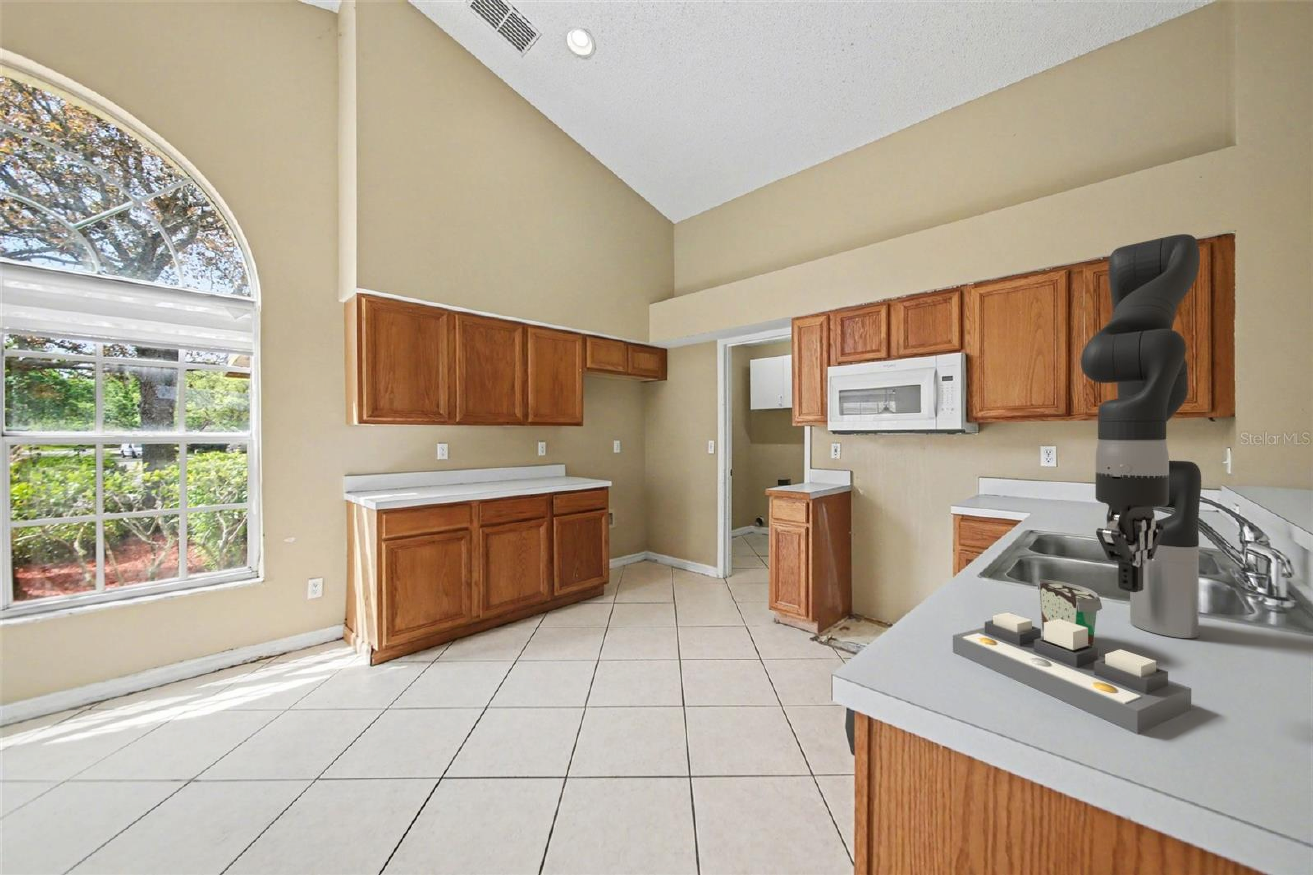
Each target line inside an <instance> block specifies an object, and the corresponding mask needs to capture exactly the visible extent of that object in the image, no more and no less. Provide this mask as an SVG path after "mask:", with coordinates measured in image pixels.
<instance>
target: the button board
mask: <svg viewBox="0 0 1313 875" xmlns="http://www.w3.org/2000/svg"><path fill="white" fill-rule="evenodd" d="M952 652H953V653H954V654H956V655H959V656H961V657H963V658H966V659H967V660H970V661H972V662H974V663H976V664H979V665H981V666H983V667H986V668H988V669H990V670H993V671H994V672H997V673H999V674H1001V675H1004V676H1006V677H1008V678H1011V679H1013V680H1015V681H1016V682H1019V683H1021V684H1024V685H1026V686H1028V687H1031V688H1032V689H1035V690H1037V691H1040V692H1042V693H1043V694H1044V693H1045V694H1047V695H1049V696H1051V697H1053V698H1056V699H1058V700H1061V701H1062V702H1065V703H1067V704H1070V705H1071V706H1074V707H1075V708H1078V709H1080V710H1082V711H1085V712H1087V713H1089V714H1091V715H1094V716H1096V717H1097V718H1100V719H1102V720H1105V721H1107V722H1110V723H1112V724H1114V725H1117V726H1118V727H1121V728H1123V729H1125V730H1128V731H1129V732H1132V733H1134V734H1136V735H1138V734H1141V733H1143V732H1145V731H1147V730H1150V729H1151V728H1154V727H1156V726H1158V725H1160V724H1162V723H1164V722H1167V721H1169V720H1171V719H1173V718H1176V717H1178V716H1180V715H1183V714H1184V713H1186V712H1189V711H1191V710H1192V688H1191V687H1189V686H1187V685H1184V684H1181V683H1177V682H1174V681H1173V680H1169V671H1167V670H1164V669H1162V668H1159V667H1156V673H1154V674H1152V675H1149V676H1146V677H1144V678H1143V677H1140V676H1138V675H1135V674H1132V673H1129V672H1126V671H1124V670H1121V669H1118V668H1115V667H1112V666H1110V665H1107V664H1105V657H1102V656H1099V648H1098V647H1095V646H1090V645H1088V646H1085V647H1082V648H1078V649H1075V650H1071V649H1068V648H1066V647H1063V646H1060V645H1057V644H1054V643H1052V642H1049V641H1046V640H1044V635H1042V628H1040V627H1036V626H1034V625H1032V629H1031V630H1027V631H1024V632H1020V633H1017V632H1015V631H1012V630H1009V629H1006V628H1003V627H1001V626H998V625H995V624H993V619H992V620H987V621H985V622H984V627H981V628H977V629H973V630H969V631H965V632H961V633H956V634H953V635H952Z"/></svg>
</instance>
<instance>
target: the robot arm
mask: <svg viewBox="0 0 1313 875" xmlns="http://www.w3.org/2000/svg"><path fill="white" fill-rule="evenodd" d="M1199 246H1200V245H1199V243H1198V240H1197V239H1196V237H1195V236H1193V235H1192V234H1188V233H1185V234H1184V233H1182V234H1181V233H1180V234H1174V235H1168V236H1166V237H1165V236H1164V237H1160V238H1155V239H1151V240H1147V241H1141V242H1136V243H1133V244H1128V245H1123V246H1120V247H1117V248H1115V249H1114V250H1113V251H1112V253H1111V254H1110V256H1109V260H1108V269H1107V270H1108V271H1107V272H1108V282H1109V283H1108V284H1109V290H1110V291H1109V292H1110V299H1111V306H1112V315H1111V318H1110V321H1109V322H1108V323H1107V324H1106V325H1105V326H1104V327H1102V328H1101V329H1100V330H1099V331H1098V332H1096V333H1095V334H1094V335H1093V336H1092V337H1091V338H1090V339H1089V341H1087V343H1086V344H1085V346H1084V349H1083V351H1082V354H1081V356H1080V367H1081V370H1082V373H1083V374H1084V375H1085V376H1086V378H1087V379H1089V380H1091V381H1092V382H1095V383H1101V384H1112V383H1113V384H1114V383H1115V384H1116V388H1117V398H1114V399H1110V400H1106V401H1104V402H1102V403H1101V404H1099V406H1098V409H1097V446H1096V450H1095V500H1096V501H1097V502H1099V503H1101V504H1106V505H1108V508H1107V509H1108V510H1107V514H1106V526H1105V528H1100V527H1098V528H1097V529H1096V531H1095V534H1096V537H1097V539H1098V541H1099V544H1100V545H1101V546H1102V549H1103V551H1104V553H1105V555H1106V557H1107V559H1108V560H1109V561H1113V562H1115V563H1116V564H1118V565H1117V566H1118V567H1117V568H1118V569H1117V570H1118V571H1117V572H1118V573H1117V580H1118V581H1117V582H1118V583H1117V584H1118V586H1117V587H1118V589H1120V590H1123V591H1127V592H1129V594H1130V600H1129V601H1130V603H1129V604H1130V605H1129V609H1130V610H1129V614H1130V615H1129V616H1130V617H1129V622H1130V624H1131V625H1133V626H1134V627H1137V628H1138V629H1141V630H1144V631H1147V632H1150V633H1153V634H1156V635H1161V636H1166V637H1170V638H1171V637H1173V638H1180V639H1195V638H1198V636H1199V620H1200V619H1199V616H1200V614H1199V612H1200V610H1199V605H1200V604H1199V598H1200V596H1199V594H1200V592H1199V590H1200V588H1199V587H1200V585H1199V584H1200V583H1199V580H1200V579H1199V578H1200V575H1199V574H1200V567H1199V566H1200V561H1199V557H1200V556H1199V554H1200V552H1199V551H1200V550H1199V549H1200V538H1199V537H1200V535H1199V532H1200V531H1199V515H1200V506H1201V505H1200V502H1201V492H1202V472H1201V470H1200V467H1199V465H1197V464H1196V463H1195V462H1193V461H1187V460H1185V461H1184V460H1170V455H1169V448H1168V445H1167V422H1168V421H1169V420H1170V419H1171V418H1172V417H1173V416H1174V415H1175V414H1176V413H1177V412H1178V411H1179V410H1180V408H1181V407H1182V406H1183V404H1184V402H1186V400H1187V397H1188V396H1189V395H1188V394H1189V382H1188V380H1189V378H1188V376H1189V375H1188V363H1187V360H1186V355H1187V343H1186V341H1185V339H1184V337H1183V336H1182V335H1181V334H1180V333H1179V332H1177V331H1176V330H1174V329H1173V327H1174V322H1175V317H1176V312H1177V310H1178V308H1179V306H1180V304H1181V303H1182V301H1183V300H1184V298H1185V297H1186V296H1187V294H1188V292H1189V291H1190V289H1191V288H1192V286H1193V285H1194V283H1195V282H1196V279H1197V277H1198V275H1199V271H1200V265H1201V263H1200V262H1201V256H1200V255H1201V254H1200V252H1201V251H1200V247H1199ZM1154 508H1169V509H1174V512H1173V513H1172V514H1171V515H1169V516H1167V517H1164V518H1161V519H1155V511H1154Z"/></svg>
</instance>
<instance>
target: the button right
mask: <svg viewBox="0 0 1313 875" xmlns="http://www.w3.org/2000/svg"><path fill="white" fill-rule="evenodd" d="M1104 656H1105V657H1104V658H1105V664H1107V665H1110V666H1112V667H1115V668H1118V669H1121V670H1124V671H1126V672H1129V673H1132V674H1135V675H1138V676H1140V677H1143V678H1144V677H1146V676H1149V675H1152V674H1154V673H1156V668H1157V660H1154V659H1151V658H1148V657H1145V656H1141V655H1138V654H1135V653H1132V652H1129V651H1127V650H1123V649H1121V648H1120V649H1116V650H1114V651H1111V652H1108V653H1105V654H1104Z"/></svg>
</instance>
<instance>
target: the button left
mask: <svg viewBox="0 0 1313 875" xmlns="http://www.w3.org/2000/svg"><path fill="white" fill-rule="evenodd" d="M992 620H993V624H995V625H998V626H1001V627H1003V628H1006V629H1009V630H1012V631H1015V632H1017V633H1020V632H1024V631H1027V630H1031V629H1032V626H1033V620H1032V619H1029V618H1025V617H1023V616H1019V615H1016V614H1013V613H1010V612H1004V613H1000V614H995V615H993V616H992Z"/></svg>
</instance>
